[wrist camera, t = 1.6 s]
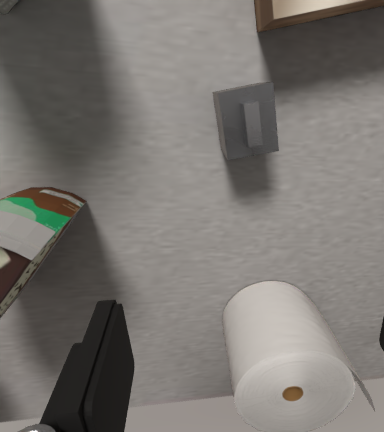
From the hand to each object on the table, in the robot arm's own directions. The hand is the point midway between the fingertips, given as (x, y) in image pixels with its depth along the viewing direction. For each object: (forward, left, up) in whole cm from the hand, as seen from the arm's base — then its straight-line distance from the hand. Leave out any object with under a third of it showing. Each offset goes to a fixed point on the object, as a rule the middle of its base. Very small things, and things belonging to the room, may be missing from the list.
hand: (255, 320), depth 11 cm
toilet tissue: (-4, +18, -21) cm, 28 cm away
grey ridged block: (-3, -5, -21) cm, 21 cm away
